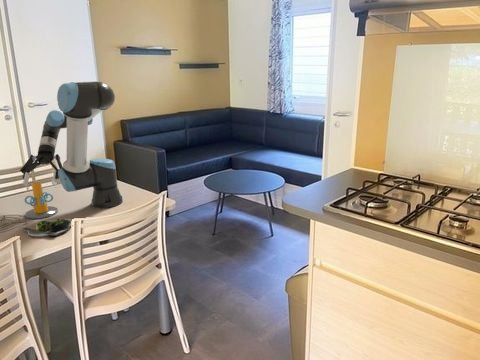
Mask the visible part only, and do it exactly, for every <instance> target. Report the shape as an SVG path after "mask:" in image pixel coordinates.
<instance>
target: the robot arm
mask: <svg viewBox="0 0 480 360" xmlns="http://www.w3.org/2000/svg"><path fill="white" fill-rule="evenodd" d="M115 98H116V95H115V93H114V90H113V89H112V87H111V86H109V85H108V84H107V83H105V82H102V81H82V82H81V81H80V82H71V81H70V82H65V83H64V82H63V83H62V84H61V85H59V87H58V90H57V95H56V101H57V106H58V108H59V110H57V109H56V110H55V109H52V110H50V111H49V112H48V114H47V115H46V118H45V121H44V124H43V127H42V132H41V136H40V137H41V138H40V140H39V145H38V149H37V154H36V155H33V154H30V156H29V158H28V160H27V161H26V162H25V164H24V165H22V166H21V168H20V170H19V171H20V172H21V174H22V180H23V181H22V185H23V186H24V187H25V188H26V187H28V185H29V179H30V173H31V172H33V171H34V170H35V169H36V168H37V167H39V166H40V165H49V164H50V165H51V167H52V168H53V169H54V170H55V171H54V172H53V176H52V180H51V184H52V185H53V187H56V185H57V180H59V182H60V183H61V186H62V188H63V190H65V191H66V192H69V193H71V192H77V191H79V190H85V189H89V188H93V191H92V198H91V206H92V207H94V208H99V209H107V208H108V209H109V208H113V207H117V206H119V205H121V204H122V203H123V202H124V199H123V195H121V192H120V190H119V187H118V179H117V170H116V169H117V168H116V164H115V161H114V160H113V159H109V158H100V157H99V158H92V159H90V160H89V161H87V160H88V159H87V156H88V130H89V129H88V128H89V126H90V125H92V124H93V119H94V118H95V117H97V115H99V114H100V113H101V112H103V111H107V110H108V109H110V108H111V107H112V106H113V104H114V103H115V101H116V100H115ZM61 129H66V160H65V161H64V162H63V164H62V162H61V156H60V155H59V154H57V153H56V147H57V143H58V138H59V134H60V131H61ZM55 153H56V154H55ZM54 160H55V161H56V163H57V166H58V167H57V166H56V165H55V164H54V162H53V161H54Z"/></svg>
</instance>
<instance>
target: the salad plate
mask: <svg viewBox="0 0 480 360" xmlns="http://www.w3.org/2000/svg"><path fill="white" fill-rule="evenodd" d="M71 220H72V219H71V218H58V219H46V220H41V221H39V222H37V223H34V225H33V226H32V228H28V227H24V228H22V231H25V232H27V234H28V235H29V236H31V237H34V238H44V237H45V238H46V237H48V238H49V237H50V238H52V237H58V236H61V235H64V234H66V233H67V232H69V231H70V230H71V229H72V227H71Z"/></svg>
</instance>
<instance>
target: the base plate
mask: <svg viewBox="0 0 480 360" xmlns="http://www.w3.org/2000/svg"><path fill="white" fill-rule="evenodd" d="M47 206H48V211H47V212H45V213H40V214H37V213H35V212H34V208H32V209H30V210H28V211H26V212H25V214H24V215H25V218H26V219H28V220H40V219H47V218H49V217H50V218H51V217H52V216H55V215H57V213H58V212H59V211H58V207H55V206H51V205H50V206H49V205H47Z"/></svg>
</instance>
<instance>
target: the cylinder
mask: <svg viewBox="0 0 480 360" xmlns="http://www.w3.org/2000/svg"><path fill="white" fill-rule="evenodd" d="M30 183H31V184H30V185H31V190H32V193H33V194H32V195H27V196H25V198H24V203H25V204H26V205H30V207H33V208H32V209H34V212H35V213H37V214H40V213H45V212H47V211H48V206H49V205H48V203H50V202H52V201H53V200H54V196H53V194H51V193H48V192H47V191H43V186H42V182H41V181H40V180H33V181H31V182H30ZM49 197H51V199H48V198H49ZM29 198H30V200H29V202H28V200H27V199H29Z"/></svg>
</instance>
